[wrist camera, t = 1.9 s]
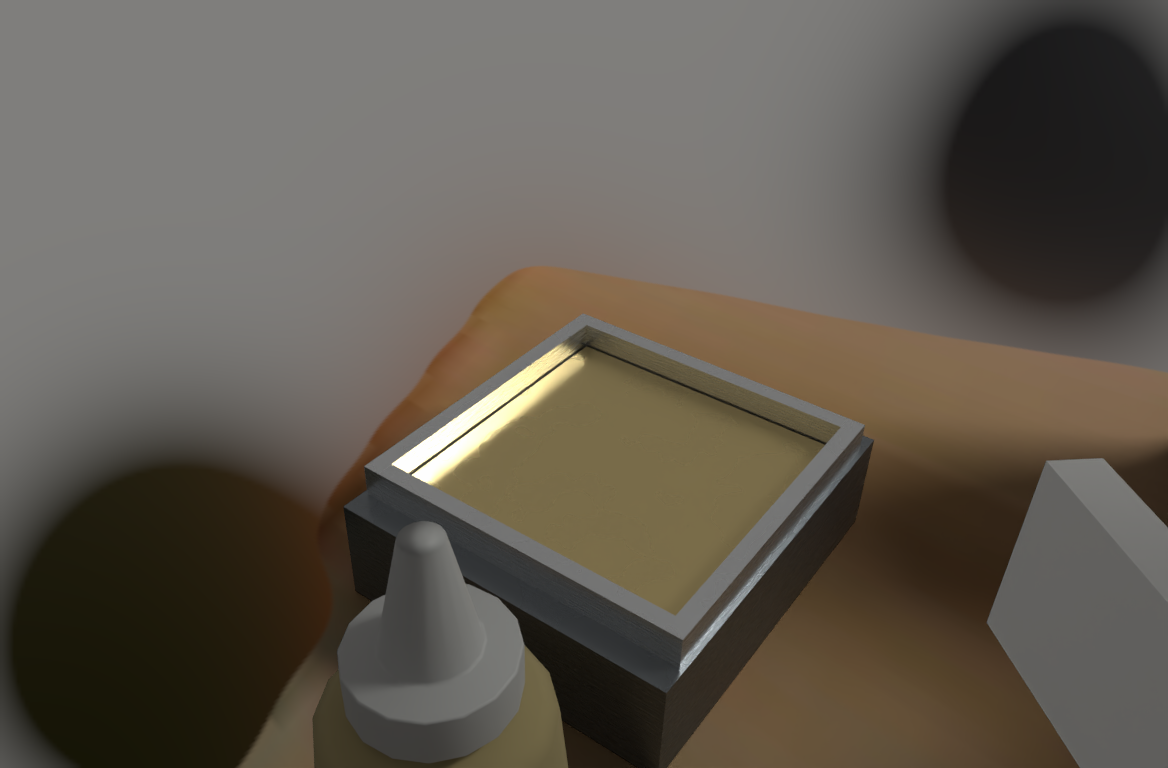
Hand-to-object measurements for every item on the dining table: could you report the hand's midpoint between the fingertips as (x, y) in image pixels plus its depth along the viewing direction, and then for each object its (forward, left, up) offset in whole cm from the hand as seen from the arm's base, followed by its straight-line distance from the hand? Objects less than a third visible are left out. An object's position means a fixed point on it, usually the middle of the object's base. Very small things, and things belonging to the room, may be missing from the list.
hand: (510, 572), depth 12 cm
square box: (-24, -13, -26) cm, 37 cm away
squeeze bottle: (-6, -7, -26) cm, 28 cm away
